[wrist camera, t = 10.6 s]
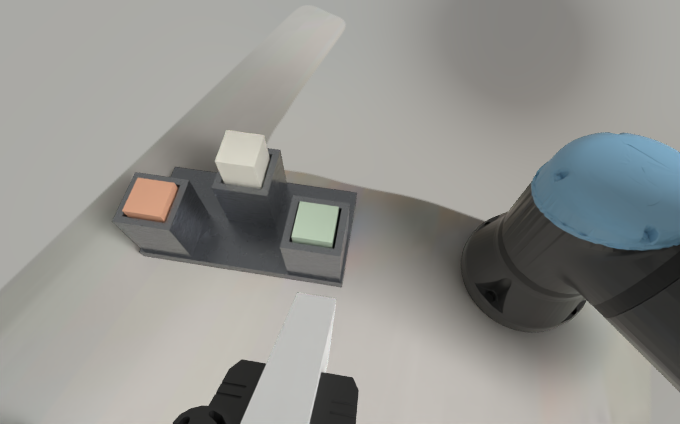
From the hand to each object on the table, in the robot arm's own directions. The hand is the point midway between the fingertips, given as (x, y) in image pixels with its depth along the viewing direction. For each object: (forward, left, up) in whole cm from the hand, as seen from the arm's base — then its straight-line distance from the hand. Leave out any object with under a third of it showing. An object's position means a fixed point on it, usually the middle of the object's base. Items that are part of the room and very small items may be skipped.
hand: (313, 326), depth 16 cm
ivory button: (+13, -22, -29) cm, 39 cm away
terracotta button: (+23, -16, -32) cm, 43 cm away
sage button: (+4, -16, -32) cm, 36 cm away
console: (+13, -19, -34) cm, 41 cm away
